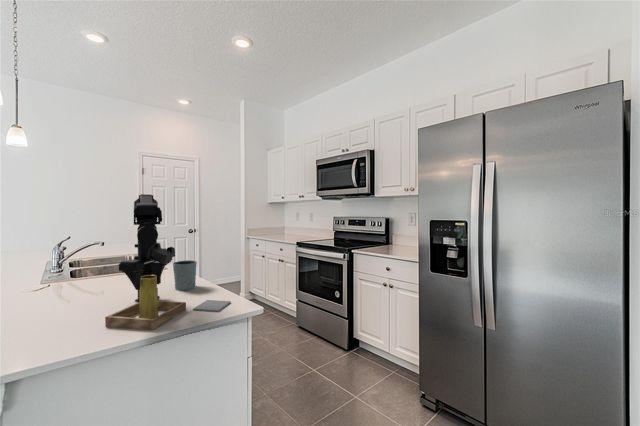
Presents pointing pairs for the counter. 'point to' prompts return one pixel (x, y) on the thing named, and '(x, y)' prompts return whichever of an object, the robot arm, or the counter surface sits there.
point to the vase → (148, 297)
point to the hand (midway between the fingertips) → (148, 286)
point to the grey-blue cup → (184, 274)
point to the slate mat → (212, 305)
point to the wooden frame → (125, 321)
